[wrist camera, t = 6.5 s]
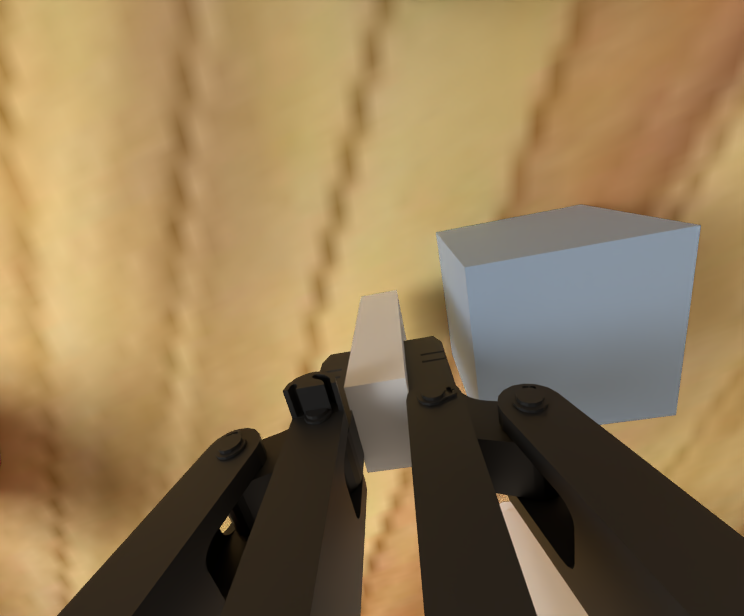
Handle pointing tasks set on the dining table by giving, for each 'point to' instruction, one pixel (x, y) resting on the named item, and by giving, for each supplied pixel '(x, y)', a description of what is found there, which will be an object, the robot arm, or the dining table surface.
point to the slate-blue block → (572, 307)
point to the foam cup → (539, 570)
